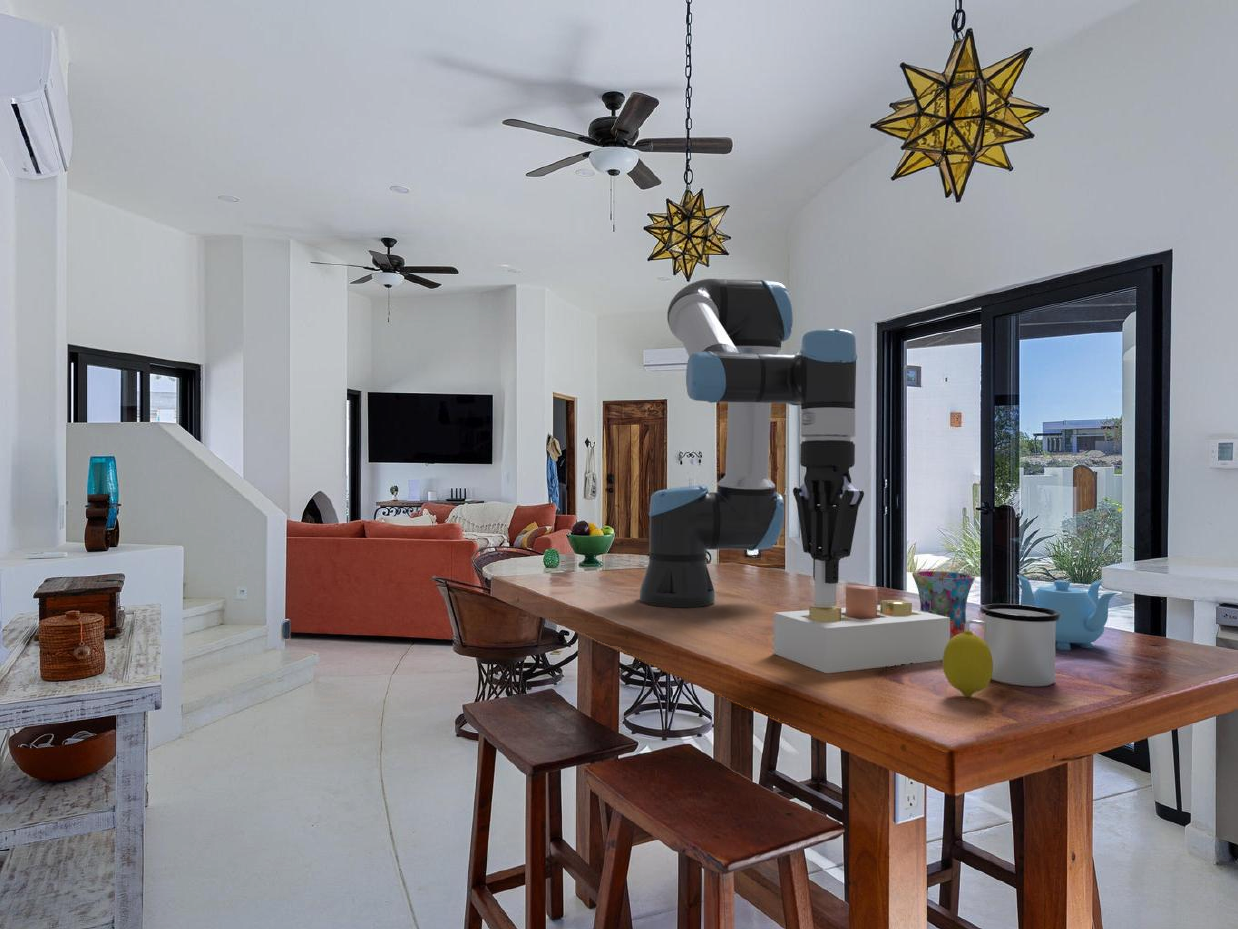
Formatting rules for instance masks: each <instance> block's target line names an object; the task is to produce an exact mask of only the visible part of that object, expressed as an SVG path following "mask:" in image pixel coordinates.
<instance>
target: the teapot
mask: <svg viewBox="0 0 1238 929" xmlns="http://www.w3.org/2000/svg"><path fill="white" fill-rule="evenodd" d="M1016 576H1017V577H1018V579H1019V582H1020V583H1017V586H1018V587H1019V588H1020V589H1021V594H1020V595H1021V597H1020V605H1028V606H1036V607H1042V608H1047V609H1051V610H1055V611H1057V612H1059V613H1060V615H1061V618H1060V619H1059V620H1057V621H1056V637H1055V650H1060V651H1071V650H1072V648H1071V645H1070V644H1071V643H1072V644H1078V647H1081V648H1084V649H1085V648H1086V649H1095V646H1094V645H1093V644H1092V643H1093V642H1094V643H1095V641H1097V640H1098V639H1099V638H1100V637H1101V636H1102V635H1103V634H1104V632H1105V625H1106V624H1107V622H1108V619H1109V618H1108V617H1109V603H1110V601H1111V599H1112V597H1114V596H1116V595H1117V594H1118V592H1109V593H1102V595H1100V596H1099V589H1100V586H1101V585H1102V583H1103V580H1102V579H1099V580H1095V581H1093V582H1092V583H1091V584H1090V586H1089V588H1088V591H1086V590H1084V589H1079V588H1072V587H1070V586H1071V581H1069V580H1061V579H1059V580H1058V579H1057V580H1054V581H1053V583H1054V586H1040V587H1038V588H1037V589H1036V590H1035V591H1034V592H1033V588H1032V585H1031V582H1030V581H1029V579H1028V578H1026V577H1024V575H1021V574H1017V575H1016Z"/></svg>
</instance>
